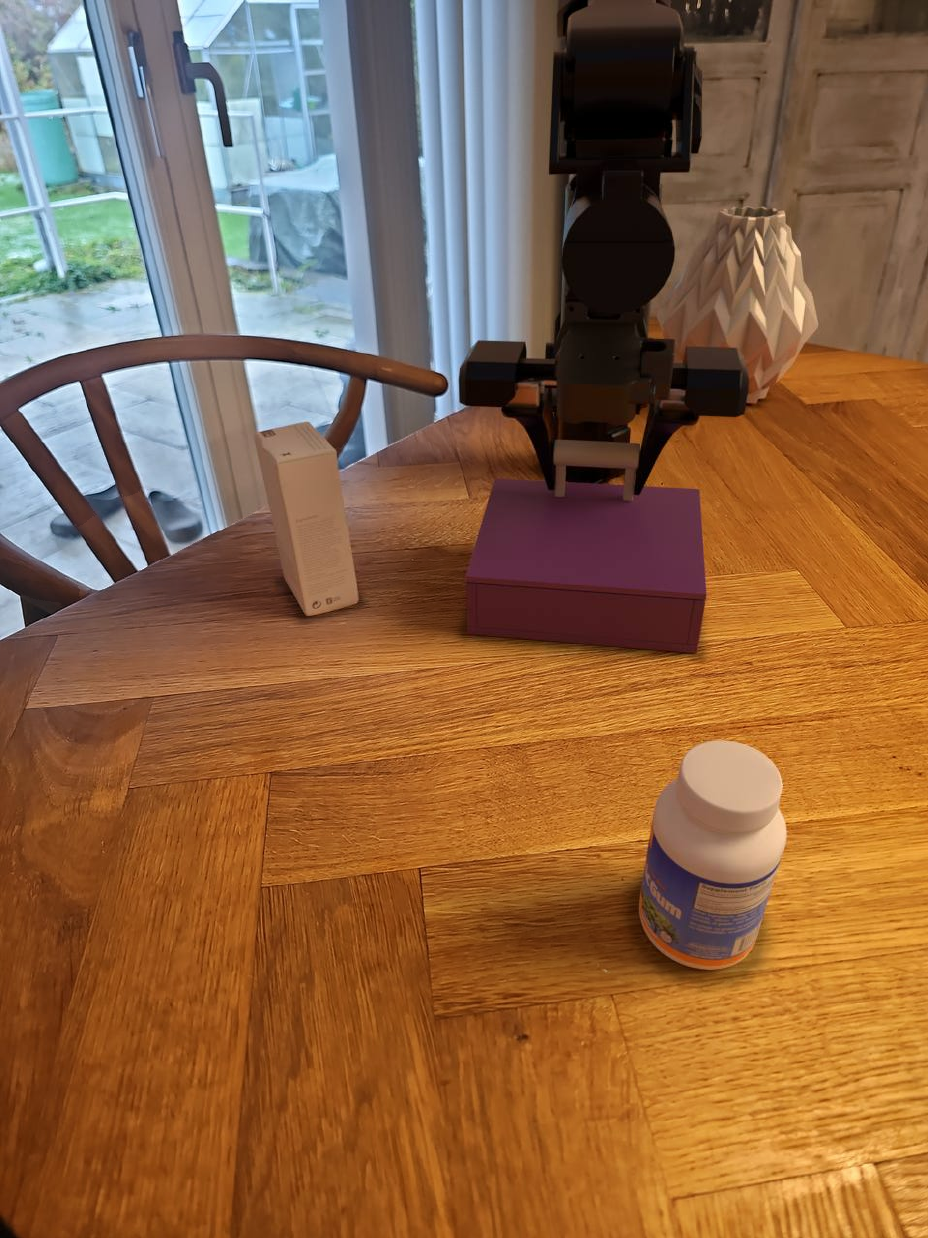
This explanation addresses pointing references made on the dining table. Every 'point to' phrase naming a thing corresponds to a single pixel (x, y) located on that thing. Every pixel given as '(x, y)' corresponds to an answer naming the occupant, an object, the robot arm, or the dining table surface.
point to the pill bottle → (713, 855)
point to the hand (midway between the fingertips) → (593, 490)
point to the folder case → (584, 617)
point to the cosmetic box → (308, 516)
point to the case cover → (592, 531)
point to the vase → (743, 296)
